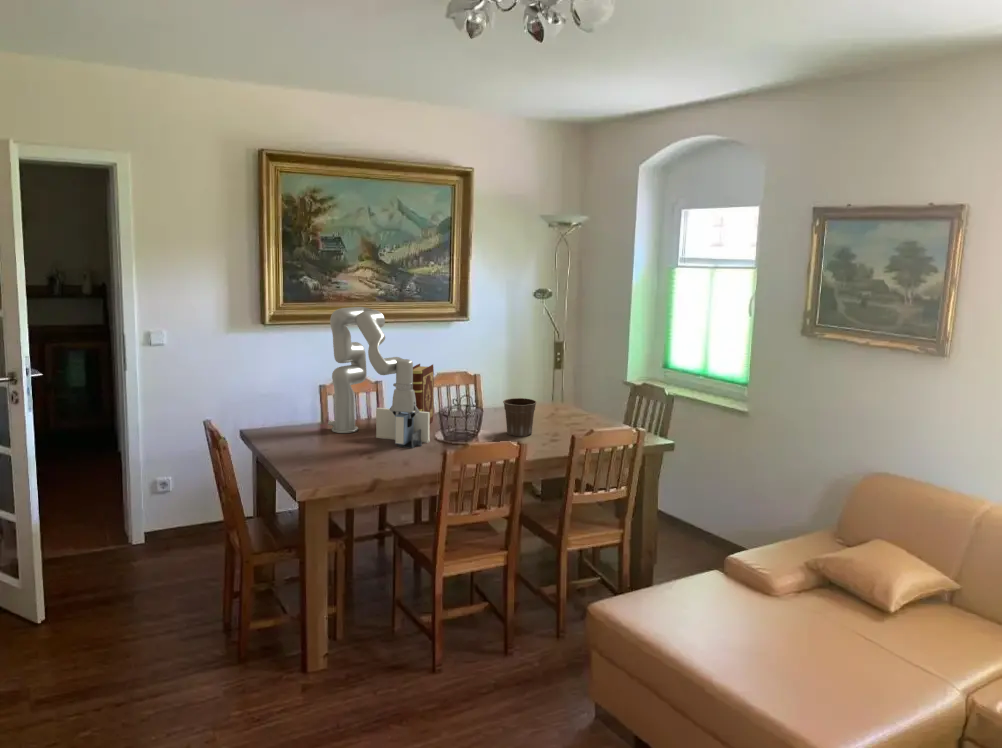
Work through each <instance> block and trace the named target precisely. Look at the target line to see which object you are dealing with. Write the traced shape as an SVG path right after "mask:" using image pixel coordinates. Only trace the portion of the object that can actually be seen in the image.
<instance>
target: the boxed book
mask: <svg viewBox="0 0 1002 748" xmlns="http://www.w3.org/2000/svg"><path fill="white" fill-rule="evenodd" d="M413 413H414V412H413ZM408 419H409V417H408V413H406V412H402V413H400V414H398V415H396V416H395V440H394V444H395V445H400V444H402V445H405V444H406V443H408V442H410V441H411V440H412V434H413V433H414V417H413V418H412V426H411V427H408Z"/></svg>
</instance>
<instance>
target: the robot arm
mask: <svg viewBox="0 0 1002 748" xmlns="http://www.w3.org/2000/svg"><path fill="white" fill-rule="evenodd" d="M329 323H330V329H331V333H332V344H333V345H332V347H333V358H334V360H335V362H336V363H338V364H346V363H347V364H348V363H350V364H348V365H341V366H339V367H338V366H337V367H336V368H334V370H333V371H332V374H331V379H332V384H333V392H334V394H333V395H334V420H328V423H327V425H328V426H332V428H331V431H332V432H333V433H336V434H350V433H355V432H358V431H359V427H358V426H357V425H356V418H355V417H356V408H355V407H356V404H355V403H356V402H355V401H356V399H355V397H356V396H355V391H354V390H353V388H352V385H358V384H361V383H363V382H365V381H366V378H367V374H368V373H367V372H368V371H367V357H366V350H365V347H364V346H363V345H362V343H360V342H358V341H352V335H351V332H350V329H349V328H348V326H357V328H358V329H359V330H360V332H361V334H362V337H364V339H365V340H366V343H367V345H368V349H367V353H368V354H367V355H368V360H369V362H370V364H371V366H372V367H373V369H374V370H375V372H376V373H377V374H378V375H380V376H389V375H393V374H395V383H393V387H395V389H394V390H393V395H392V402H391V403H392V405H391V406H390V408H388V409H389V410H390V411H391V412H393V414H394V415H395V416H396V415H398V414H400V413H401V412H406V413H408V417H409V419H408V427H411V426H412V418H413V417H414V416H415V415H416V414H417V413H419V412H420V411H419V410H418V408H417V406H416V398H415V392H414V390H413V367H414V363H413V360H412V359H410V358H409V359H407V358H406V359H405V358H402V357H400V356H393V357H385V358H384V357H383V356H382V354H381V353H380V350H379V346H381V345H382V344H383V343H384V342H385V341H386V335H385V332H383V329H382V328H383V327H384V325H385V323H386V319H385V315H384V314H383V313H382V312H381V311H379V310H377V309H372V308H368V307H364V306H354V307H341V308H338V309H335V310H334V311H333V312H332V314H331V315H330V318H329ZM412 411H415V412H414V413H413V412H412Z"/></svg>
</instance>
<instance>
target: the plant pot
mask: <svg viewBox="0 0 1002 748" xmlns="http://www.w3.org/2000/svg"><path fill="white" fill-rule="evenodd" d="M537 402H538V401H536V400H535V399H531V398H526V397H525V398H523V397H522V398H521V397H519V398H518V397H517V398H514V397H513V398H508V399H504V400H503V401H502V403H503V405H504V407H503V408H504V412H505V422H506V434H508V435H509V436H514V437H528V436H529V435H532V434H533V424H534V416H535V410H536V404H537Z"/></svg>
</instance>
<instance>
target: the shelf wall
mask: <svg viewBox="0 0 1002 748" xmlns="http://www.w3.org/2000/svg"><path fill="white" fill-rule="evenodd" d="M389 409H390V408H386V407H385V408H384V407H377V408H376V409H375V413H376V414H375V418H376V419H375V425H376V426H375V427H376V429H375V430H376V431H375V439H385V440H394V441H395V415H394V414H393V412H391V411H390V410H389ZM412 412H415V411H412ZM401 413H402V412H401ZM430 425H431V423H430V412H422V411H420V412H419V413H417V414H416V415H415V416H414V432H416V431H418V430H419V429H421V441H422V443H424V444H425V443H427V444H429V443H430V442H431V439H430V436H431V435H430V429H431V428H430ZM411 441H412V440H411Z"/></svg>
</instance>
